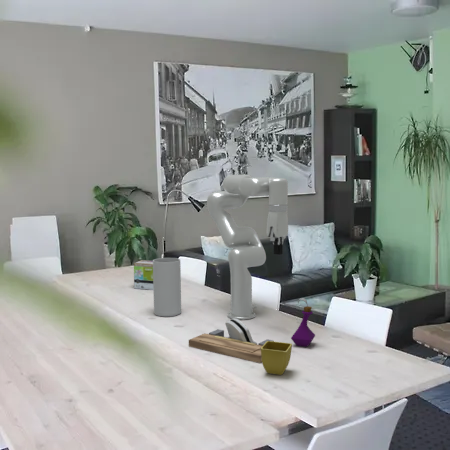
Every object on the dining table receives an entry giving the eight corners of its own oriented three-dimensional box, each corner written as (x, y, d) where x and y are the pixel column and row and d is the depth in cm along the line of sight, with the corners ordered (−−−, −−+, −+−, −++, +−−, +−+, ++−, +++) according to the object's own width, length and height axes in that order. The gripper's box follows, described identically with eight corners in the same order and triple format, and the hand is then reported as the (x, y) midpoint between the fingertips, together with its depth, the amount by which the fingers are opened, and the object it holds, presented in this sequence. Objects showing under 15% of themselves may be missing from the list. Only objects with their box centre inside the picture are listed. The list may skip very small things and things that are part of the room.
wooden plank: (204, 339, 225) (204, 332, 225) (274, 355, 207) (274, 347, 206) (188, 346, 217) (188, 339, 217) (260, 363, 199) (260, 355, 198)
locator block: (218, 336, 229) (217, 329, 229) (224, 337, 227) (224, 330, 227) (208, 340, 224) (208, 332, 224) (215, 341, 222) (214, 334, 222)
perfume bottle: (315, 343, 220) (315, 297, 218) (309, 349, 213) (310, 301, 211) (296, 340, 223) (297, 295, 221) (290, 346, 216) (290, 299, 214)
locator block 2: (267, 347, 216) (267, 339, 215) (273, 348, 214) (273, 340, 214) (258, 351, 211) (258, 343, 210) (265, 352, 209) (265, 344, 209)
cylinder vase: (149, 315, 261) (147, 261, 258) (162, 309, 272) (161, 257, 270) (173, 318, 256) (172, 263, 253) (185, 311, 268) (184, 258, 265)
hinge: (258, 347, 216) (250, 323, 213) (247, 352, 214) (239, 329, 212) (240, 334, 231) (232, 313, 229) (230, 340, 229) (222, 318, 227)
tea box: (133, 289, 316) (133, 262, 314) (141, 285, 325) (140, 259, 323) (158, 290, 311) (158, 263, 310) (166, 286, 321) (165, 260, 319)
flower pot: (292, 369, 193) (292, 343, 192) (286, 378, 185) (286, 351, 184) (267, 366, 196) (267, 340, 195) (260, 375, 188) (260, 348, 187)
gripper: (279, 207, 238) (279, 250, 240) (260, 210, 226) (260, 255, 228) (295, 208, 234) (295, 252, 236) (276, 210, 222) (276, 257, 224)
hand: (278, 253), depth 232 cm, fingers closed
